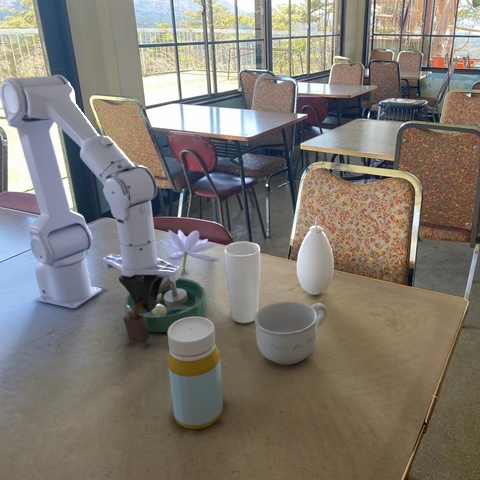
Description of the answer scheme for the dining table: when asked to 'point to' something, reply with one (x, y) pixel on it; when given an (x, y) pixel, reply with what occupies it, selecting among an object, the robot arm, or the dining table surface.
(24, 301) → the dining table surface
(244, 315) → the white tumbler
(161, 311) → the ball
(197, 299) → the bowl
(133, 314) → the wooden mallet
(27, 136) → the robot arm
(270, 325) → the teacup
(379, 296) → the dining table surface
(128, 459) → the dining table surface
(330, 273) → the sauce bottle
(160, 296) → the ball
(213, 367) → the bottle
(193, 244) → the water lily
